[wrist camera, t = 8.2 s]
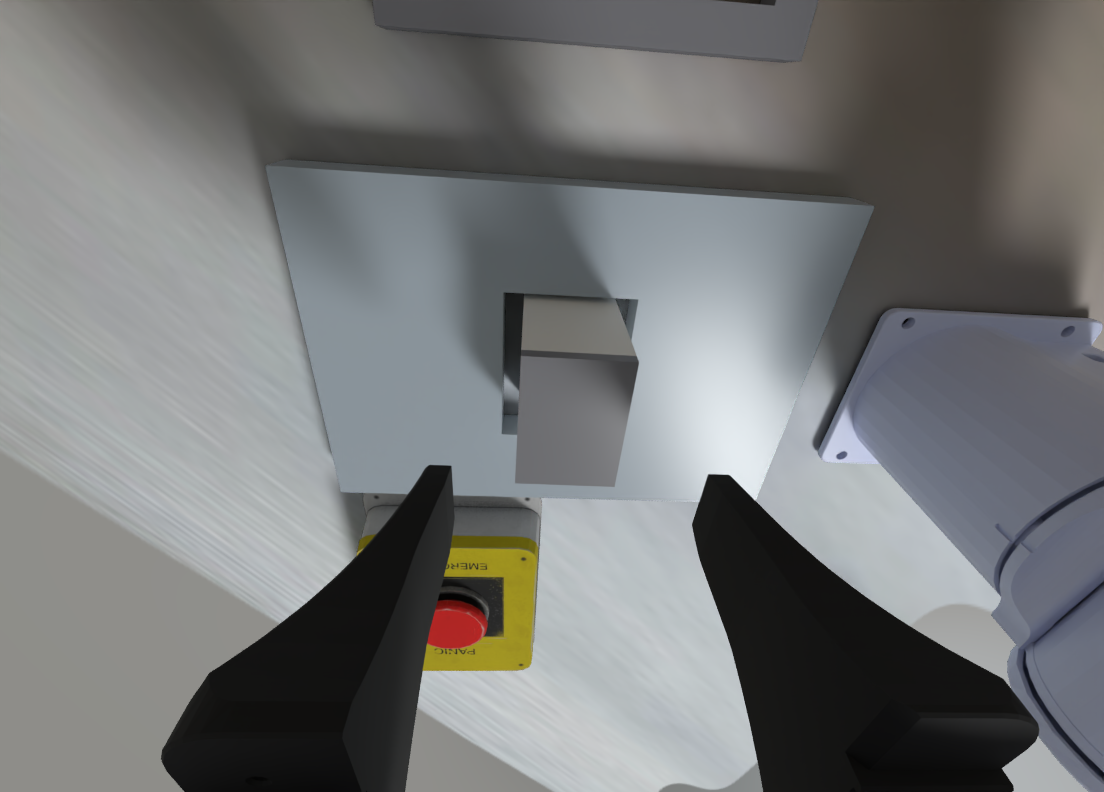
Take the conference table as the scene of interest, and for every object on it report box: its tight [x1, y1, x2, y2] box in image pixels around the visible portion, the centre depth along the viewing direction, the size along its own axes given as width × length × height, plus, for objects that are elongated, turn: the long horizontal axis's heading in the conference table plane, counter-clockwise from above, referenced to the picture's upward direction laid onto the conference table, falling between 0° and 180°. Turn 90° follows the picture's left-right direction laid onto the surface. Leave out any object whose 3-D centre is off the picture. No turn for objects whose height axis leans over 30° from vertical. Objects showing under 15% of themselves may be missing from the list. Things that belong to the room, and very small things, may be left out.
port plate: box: [265, 159, 875, 502], centre depth 20 cm, size 20×14×2 cm
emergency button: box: [357, 493, 542, 671], centre depth 27 cm, size 9×4×15 cm
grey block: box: [515, 293, 639, 487], centre depth 18 cm, size 4×5×6 cm
